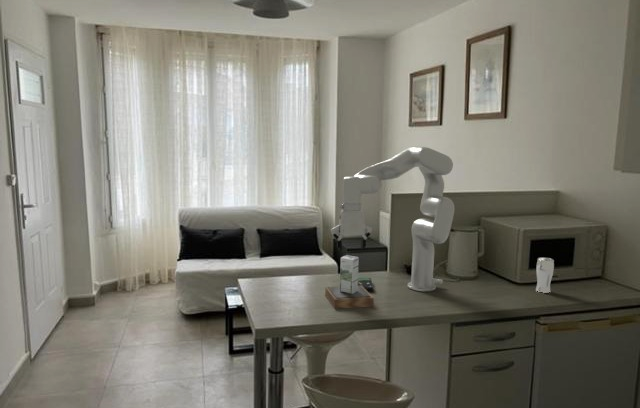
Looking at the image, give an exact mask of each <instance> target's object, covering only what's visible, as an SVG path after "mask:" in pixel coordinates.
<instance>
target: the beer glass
mask: <svg viewBox="0 0 640 408" xmlns="http://www.w3.org/2000/svg"><path fill="white" fill-rule="evenodd" d="M554 262H555V260H554V259H553V258H550V257H538V258H537V262H536V269H535V270H536V281H537V283H536V287H535V292H537V291H538V292H537V293H539V292H543V293H542V294H544V293H549V292H550V293H551V281H552V278H553V275H554V268H555V263H554ZM550 293H549V294H550Z"/></svg>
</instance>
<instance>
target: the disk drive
mask: <svg viewBox="0 0 640 408" xmlns="http://www.w3.org/2000/svg"><path fill="white" fill-rule="evenodd" d="M358 286H363V287H364V288H365V289H366V290H367V291H368V292H369V293H374V285H373V282H372V278H371V277H358Z"/></svg>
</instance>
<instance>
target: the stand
mask: <svg viewBox="0 0 640 408" xmlns="http://www.w3.org/2000/svg"><path fill="white" fill-rule="evenodd" d="M324 287H325V290H324V291H325V292H324V296H325V297H326V298H327V301H328V302H329V303H330V304H331V306H332V307H333V309H352V308H356V309H357V308H373V307H374V302H375V301H374V300H375V298H374V296H373V295H372V294H371V292H368V291H367V290H366V289H365V288H364V287H363V286H358V291H356V292H355V293H353V294H349V293H344V292H340V286H324Z"/></svg>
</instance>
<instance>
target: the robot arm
mask: <svg viewBox="0 0 640 408" xmlns="http://www.w3.org/2000/svg"><path fill="white" fill-rule="evenodd" d="M453 166H454V163H453V160H452V158H451V157H450V156H448V155H447V154H444V153H442V152H440V151H437V150H435V149H433V148H430V147H426V146H410V147H408V148H405V149H404V150H402V151H400V152H399V153H397V154H395V155H394V156H392V157H390V158H388V159H387V160H383V161H381V162H379V163H376V164H373V165H370V166H368V167H365V168H364V169H362V170H360V171H359V172H357V173H356V174H354V175H353V176H352V175H349V176H344V177H343V179H342V203H341V204H339V205H338V208H339V209H341V210H340V212H339V213H340V214H339V220H338V225H336V226H334V227H332V228H330V229H329V230H330V233H331V234H332V236H333V238H335V239H336V247H337V249H338V250H339V251H342V250H343V249H342V248H343V247H342V246H343V242H342V239H343V237H361V238H360V248H361V249H362V250H365V248H366V247H367V239H368V238H369V236H371V233H372V232H373V228H372V227H371V226H368V225H367V224H366V220H365V214H364V213H365V212H364V210H362V195H363V194H365V195H375V194H378V193H379V192H380V190H381V189H382V186H383V185H382V181H387V180H393V179H397V178H399V177H401V176H403V175H404V174H406V173H408V172H409V171H411V170H412V169H415V168H418V169H419V171H420V173H421V174H422V176H423V179H424V189H423V193H422V197H421V201H420V206H419V210H420V211H419V212H421V213H422V215H424V216H427V217H432V218H434V220H433V219H429V218H424V217H421V218H418V219H415V220H414V221H413V223H412V225H411V237H412V257H411V259H412V260H411V261H412V262H411V276H410V278H411V279H410V281H409V282H407V288H408V289H411V290H413V291H416V292H433V291H435V290H436V289H437V286H436V285H437V284H438V285H439V284H442V285H443V283H444V281H443V279H442V278H441V279H438V278H434V264H435V263H434V261H435V246H434V244H440V245H441V244H444V243H445V242H446V241H447V239H448V238H449V236H450V232H451V228H452V225H453V224H452V223H453V220H454V215H455V203H454V202H453V200H452V199H451V198H449V197H447V196H443V195H444V190H445V181H444V178H443V176H446V175H448V174H450V173H451V172H452V170H453V168H454V167H453ZM366 230H367V231H366ZM336 231H338V234H337V233H336Z"/></svg>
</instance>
